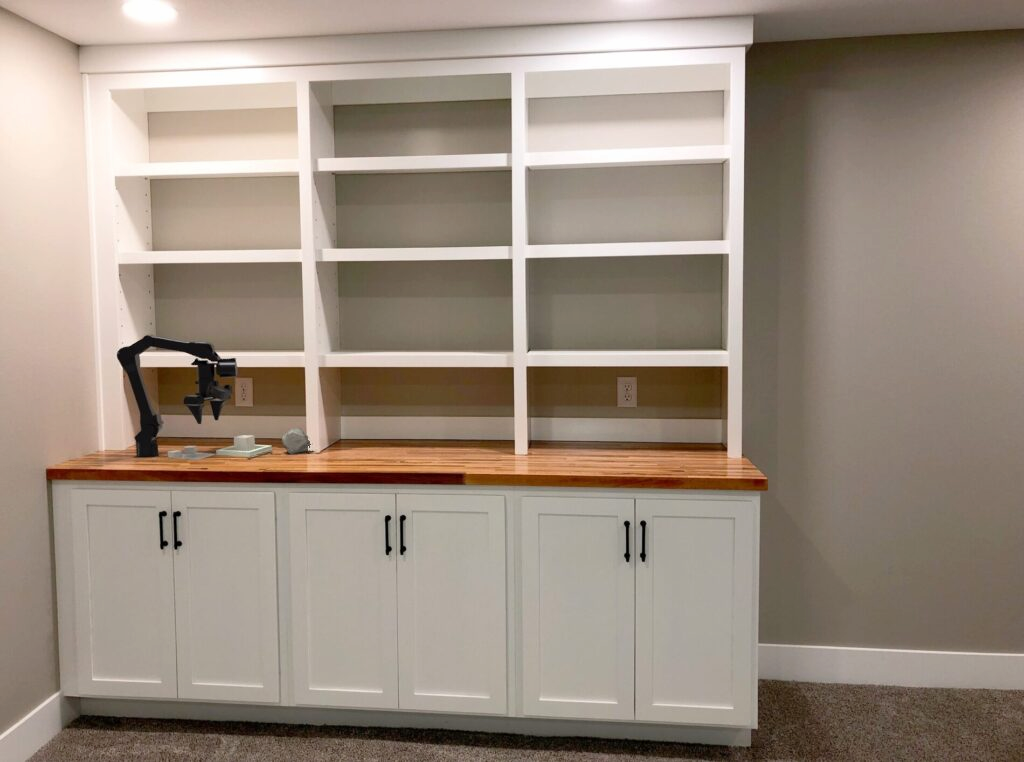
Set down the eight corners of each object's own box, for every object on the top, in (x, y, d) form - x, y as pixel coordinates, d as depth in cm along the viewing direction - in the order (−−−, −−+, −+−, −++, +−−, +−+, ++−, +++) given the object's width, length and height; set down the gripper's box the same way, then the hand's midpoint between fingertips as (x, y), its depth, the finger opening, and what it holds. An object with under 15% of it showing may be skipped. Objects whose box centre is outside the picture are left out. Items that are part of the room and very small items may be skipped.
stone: (300, 422, 306) (285, 426, 297) (319, 441, 305) (305, 445, 295) (285, 441, 308) (270, 445, 299) (304, 460, 307) (290, 464, 297)
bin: (216, 457, 294) (216, 450, 293) (240, 450, 307) (239, 443, 306) (249, 459, 290) (249, 452, 289) (272, 452, 302) (272, 445, 302)
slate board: (165, 460, 288) (165, 451, 288) (189, 454, 299) (188, 445, 299) (196, 462, 284) (196, 453, 284) (219, 456, 296) (219, 447, 295)
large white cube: (234, 454, 296) (233, 437, 296) (242, 451, 301) (242, 435, 301) (246, 454, 295) (245, 437, 294) (255, 452, 300) (254, 435, 299)
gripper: (208, 381, 283) (210, 427, 284) (242, 376, 300) (243, 419, 302) (181, 380, 286) (182, 425, 288) (215, 375, 304) (217, 418, 305)
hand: (208, 422), depth 295 cm, fingers open, 9 cm apart
